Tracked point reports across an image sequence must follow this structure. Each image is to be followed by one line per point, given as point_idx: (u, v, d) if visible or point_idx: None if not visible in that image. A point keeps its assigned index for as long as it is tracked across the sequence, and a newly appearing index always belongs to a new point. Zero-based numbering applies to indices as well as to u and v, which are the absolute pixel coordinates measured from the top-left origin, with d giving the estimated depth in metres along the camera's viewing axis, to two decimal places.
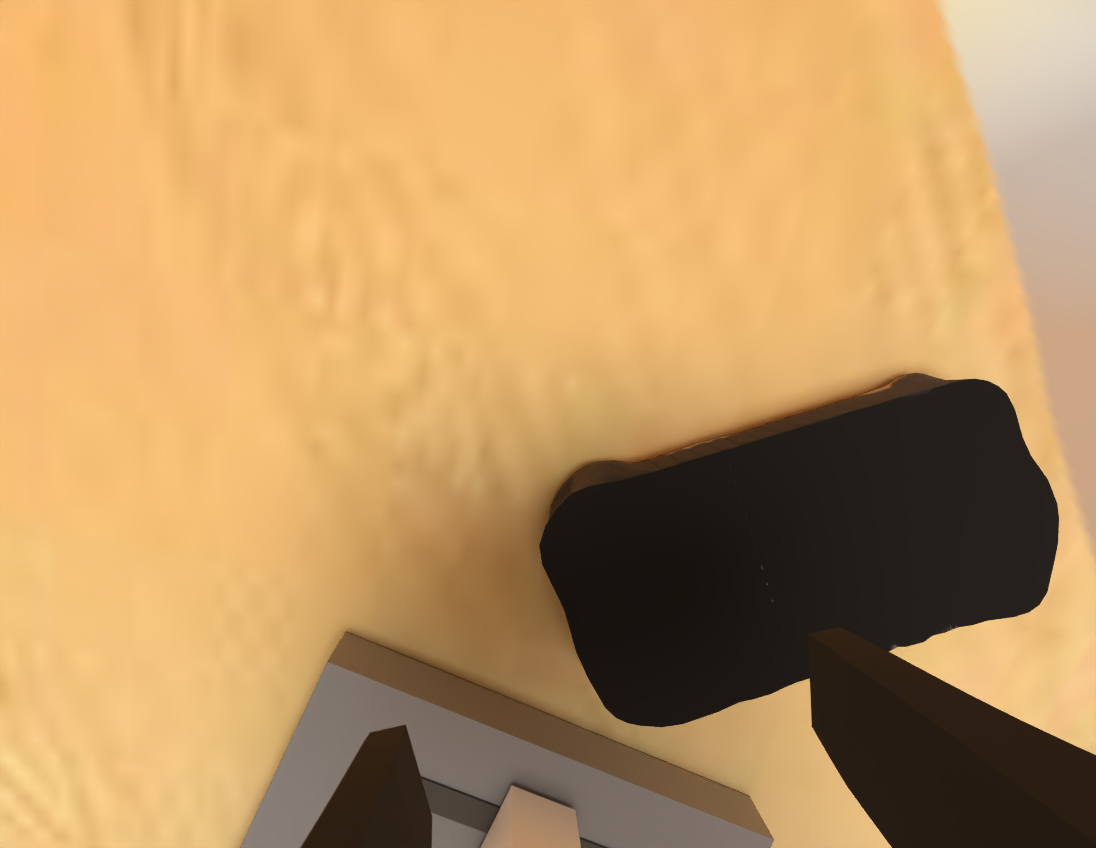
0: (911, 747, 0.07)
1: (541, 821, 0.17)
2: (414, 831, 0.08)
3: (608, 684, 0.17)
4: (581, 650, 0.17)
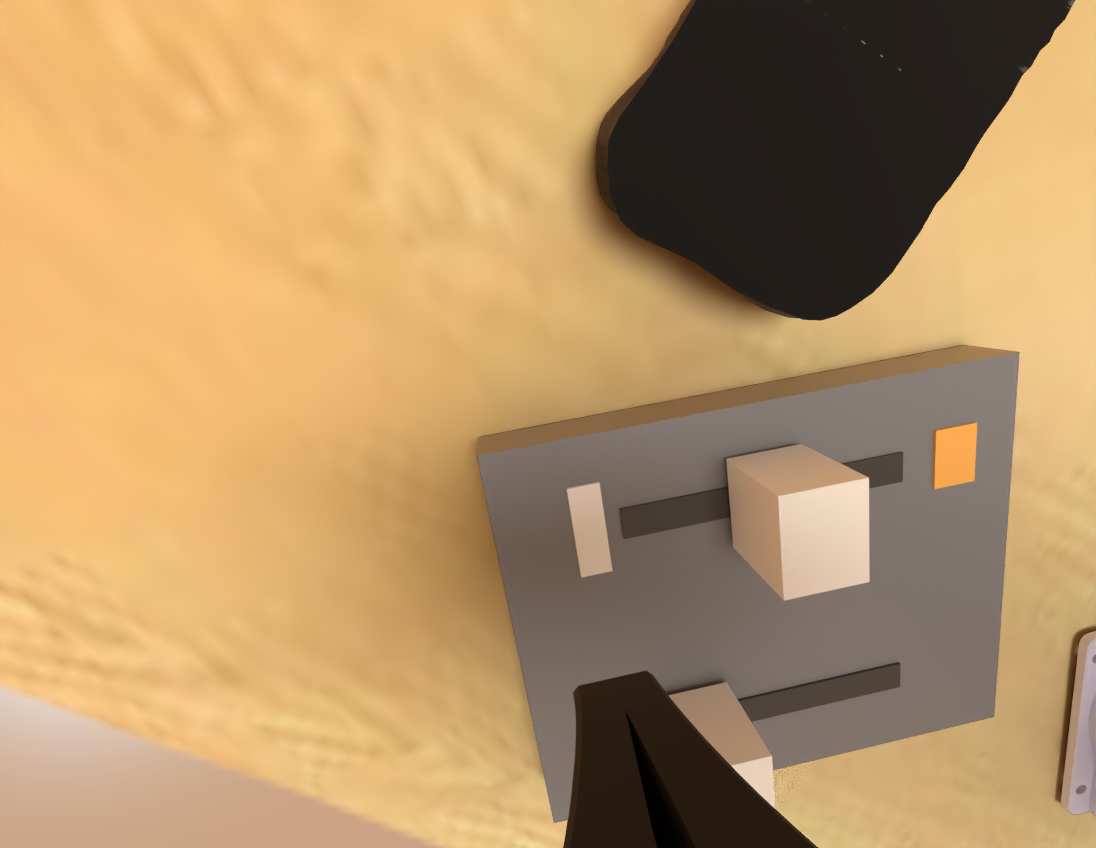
0: (661, 808, 0.07)
1: (777, 463, 0.15)
2: None
3: (791, 296, 0.14)
4: (740, 285, 0.14)
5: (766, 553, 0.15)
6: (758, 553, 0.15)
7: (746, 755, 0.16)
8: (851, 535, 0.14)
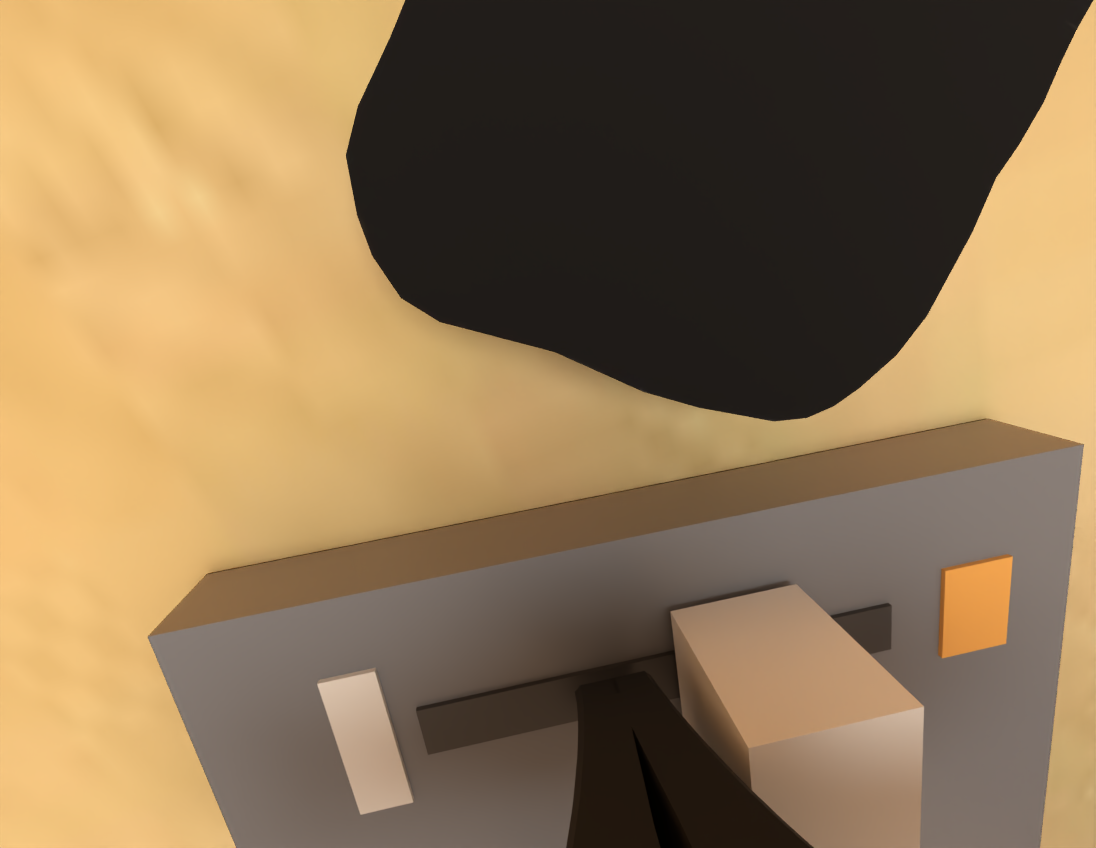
0: (658, 809, 0.07)
1: (752, 634, 0.09)
2: None
3: (745, 384, 0.08)
4: (647, 380, 0.08)
5: None
6: None
7: None
8: (887, 803, 0.07)
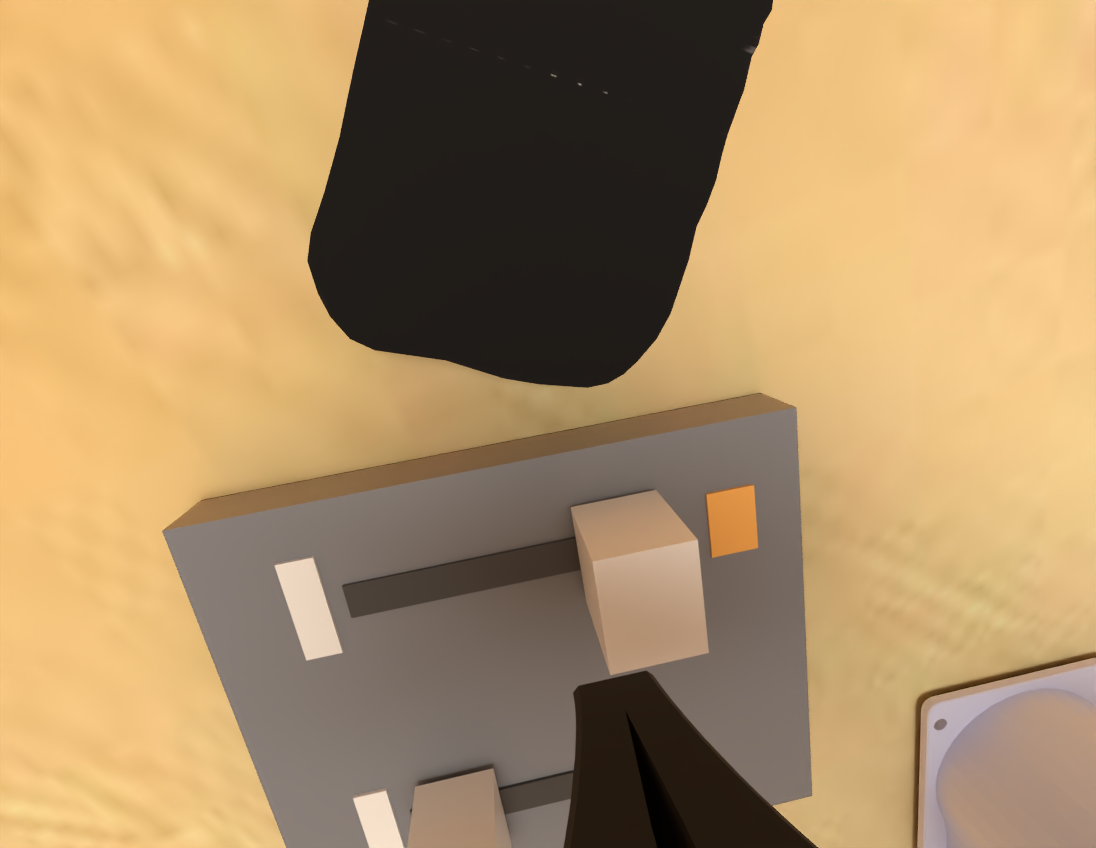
0: (661, 808, 0.07)
1: (617, 515, 0.14)
2: None
3: (565, 366, 0.13)
4: (505, 371, 0.13)
5: (597, 619, 0.13)
6: (594, 616, 0.14)
7: None
8: (682, 602, 0.12)
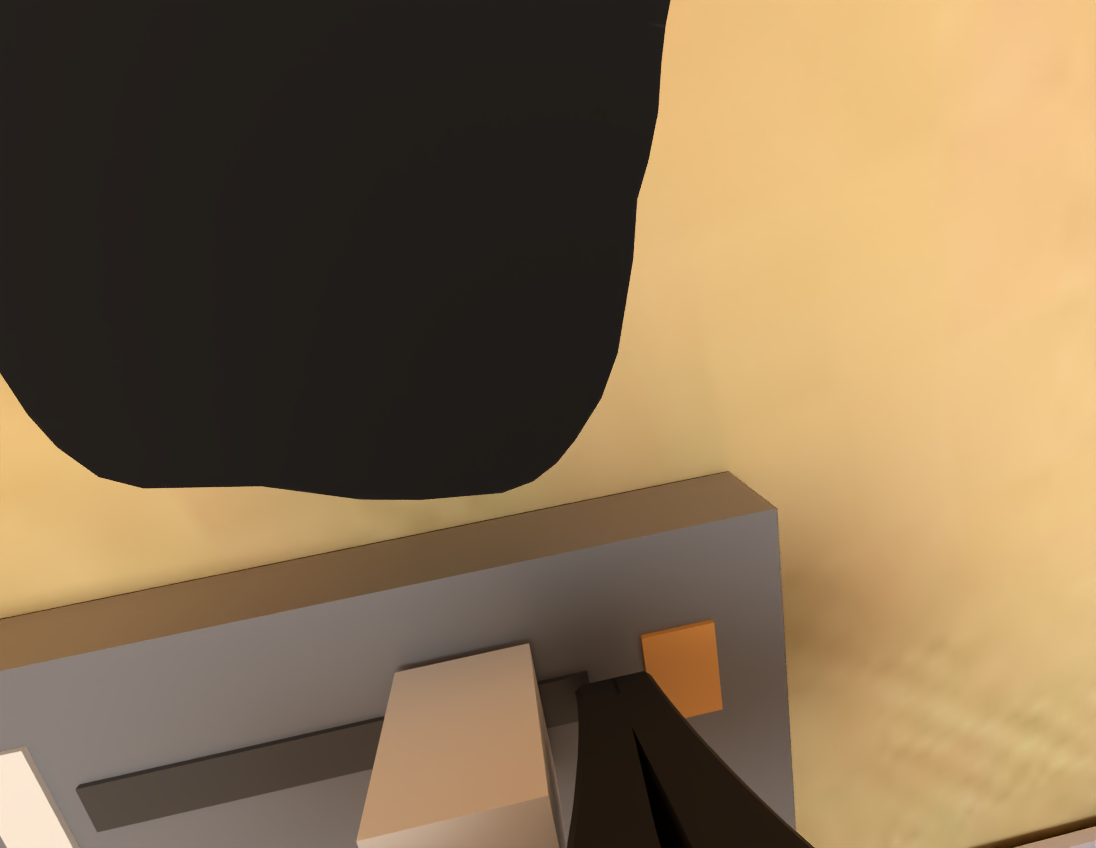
0: (659, 809, 0.07)
1: (450, 703, 0.09)
2: None
3: (459, 465, 0.08)
4: (361, 488, 0.08)
5: None
6: None
7: None
8: None
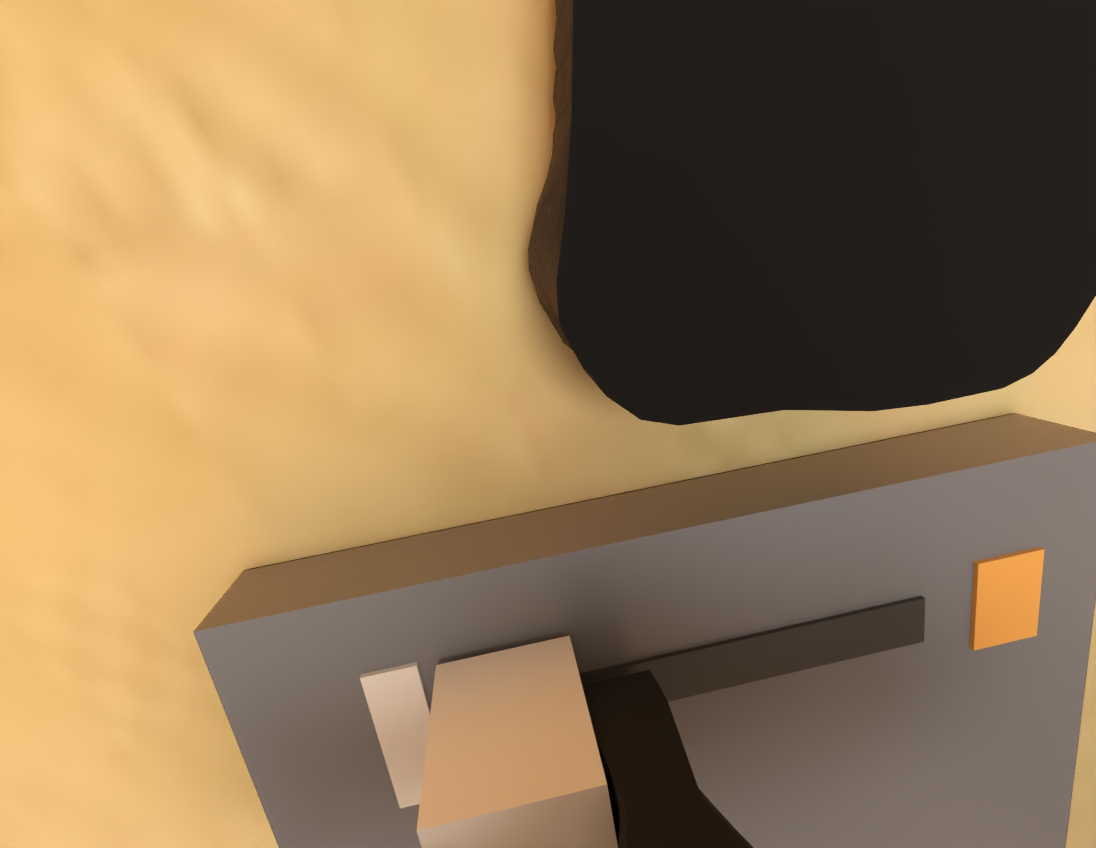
0: (619, 818, 0.07)
1: (496, 694, 0.09)
2: None
3: (966, 367, 0.08)
4: (874, 400, 0.08)
5: None
6: None
7: None
8: None
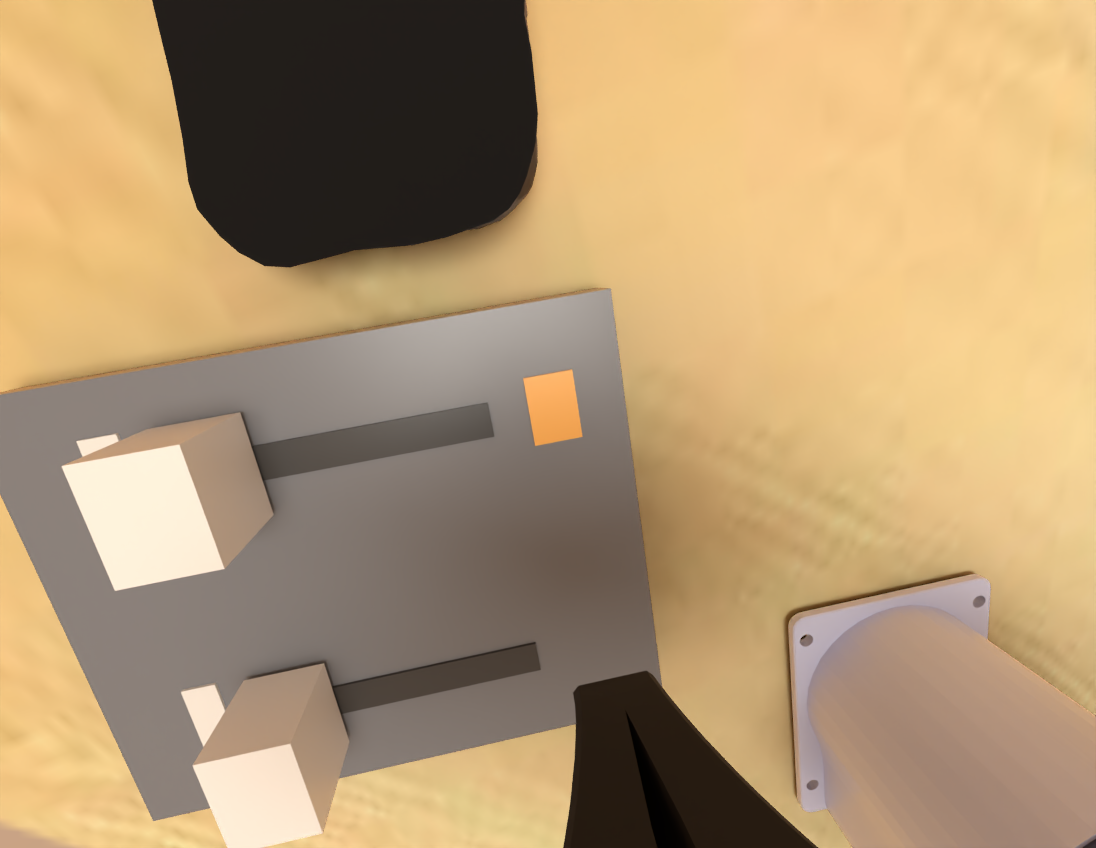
0: (661, 808, 0.07)
1: (165, 432, 0.13)
2: None
3: (463, 209, 0.13)
4: (411, 237, 0.13)
5: None
6: None
7: (265, 743, 0.14)
8: (178, 513, 0.12)
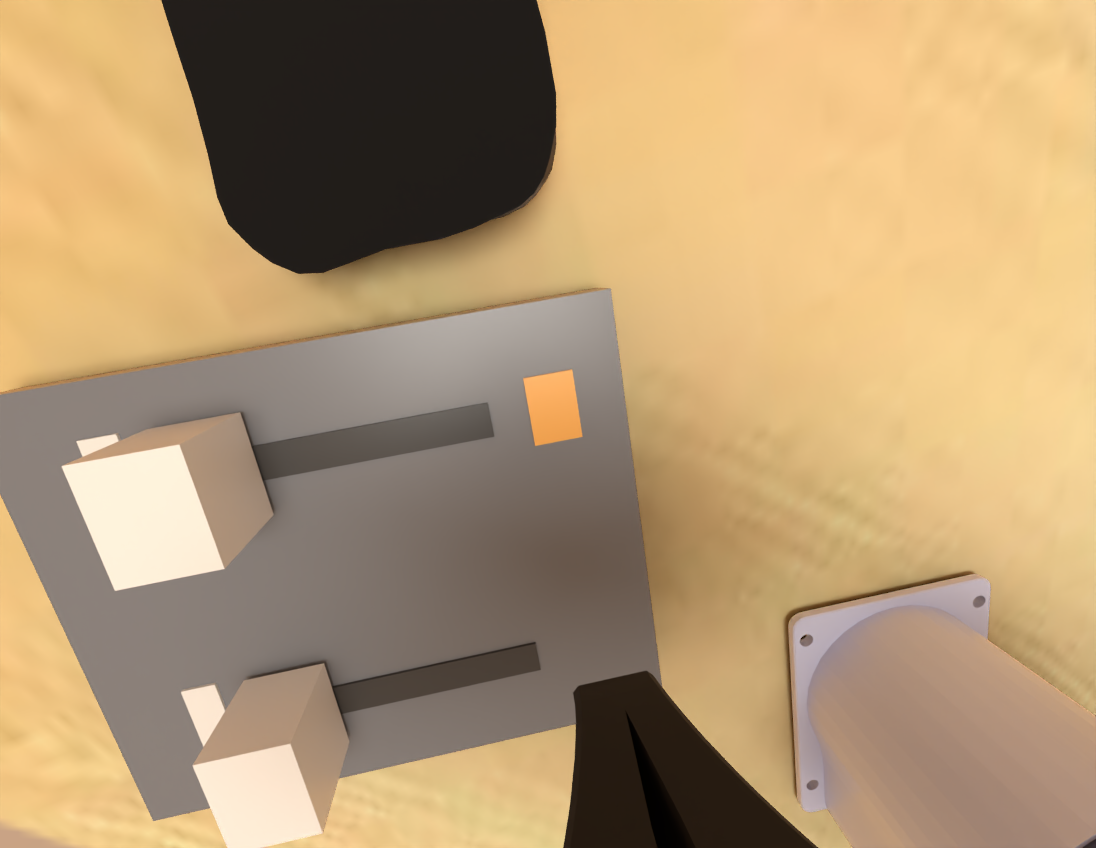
0: (661, 808, 0.07)
1: (165, 432, 0.13)
2: None
3: (490, 198, 0.13)
4: (440, 231, 0.13)
5: None
6: None
7: (265, 743, 0.14)
8: (178, 513, 0.12)
